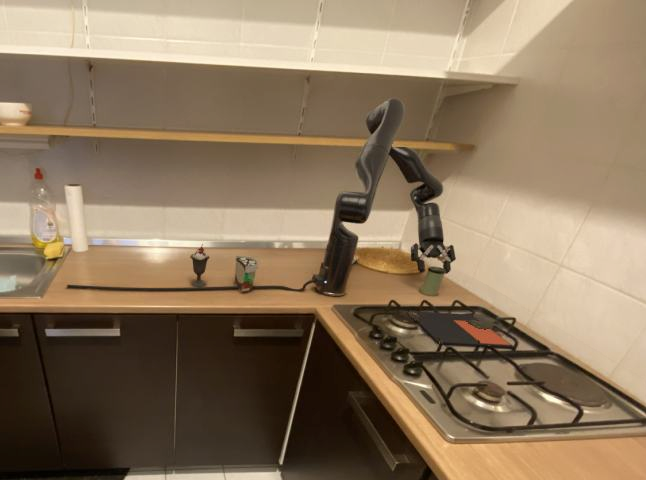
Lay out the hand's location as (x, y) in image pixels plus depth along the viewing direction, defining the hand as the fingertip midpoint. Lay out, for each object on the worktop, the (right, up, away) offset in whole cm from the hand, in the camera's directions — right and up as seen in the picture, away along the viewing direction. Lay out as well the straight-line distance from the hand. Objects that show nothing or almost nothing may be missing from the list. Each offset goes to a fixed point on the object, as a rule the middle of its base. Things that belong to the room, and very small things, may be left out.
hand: (434, 272), depth 135 cm
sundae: (-83, -4, +2) cm, 83 cm away
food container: (-66, -6, +1) cm, 67 cm away
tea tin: (0, -7, +3) cm, 8 cm away
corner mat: (-8, -21, -22) cm, 31 cm away
